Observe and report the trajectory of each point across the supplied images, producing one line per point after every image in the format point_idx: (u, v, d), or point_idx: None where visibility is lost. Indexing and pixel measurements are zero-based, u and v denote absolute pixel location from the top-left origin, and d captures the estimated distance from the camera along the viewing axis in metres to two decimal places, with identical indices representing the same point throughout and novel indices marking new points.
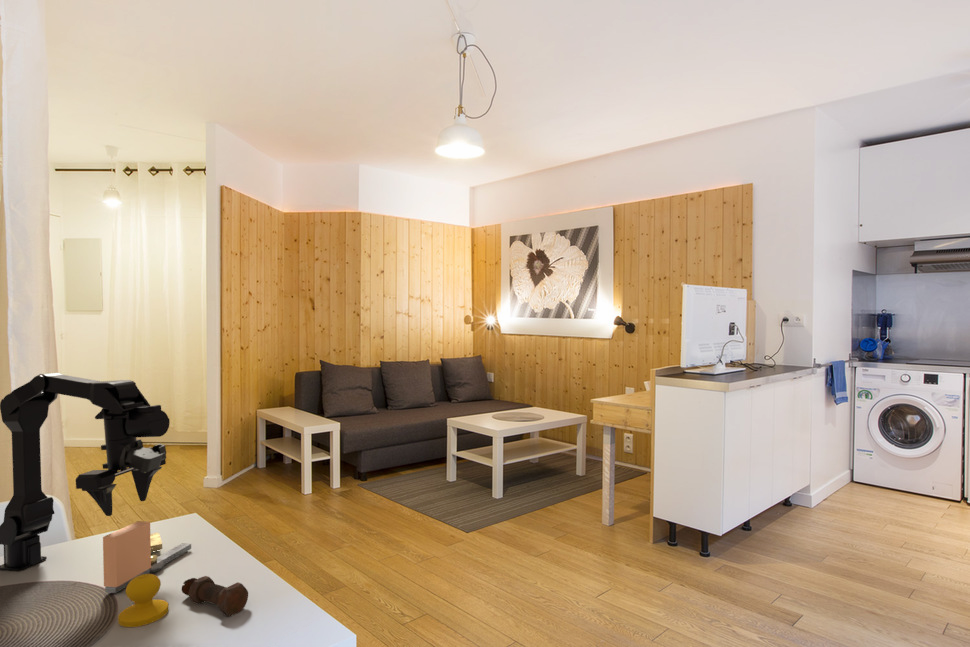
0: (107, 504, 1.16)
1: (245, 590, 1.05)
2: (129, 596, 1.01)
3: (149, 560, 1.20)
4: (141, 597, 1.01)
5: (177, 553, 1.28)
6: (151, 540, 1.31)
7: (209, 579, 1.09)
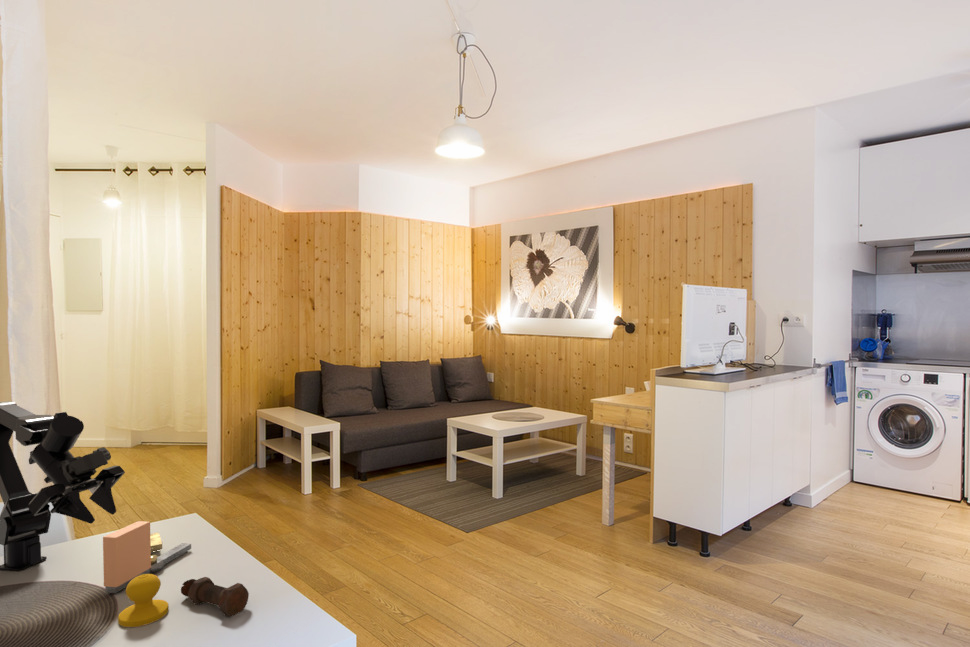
0: (83, 511, 1.15)
1: (245, 591, 1.05)
2: (129, 596, 1.01)
3: (149, 560, 1.20)
4: (141, 597, 1.01)
5: (177, 553, 1.28)
6: (151, 540, 1.31)
7: (209, 580, 1.09)
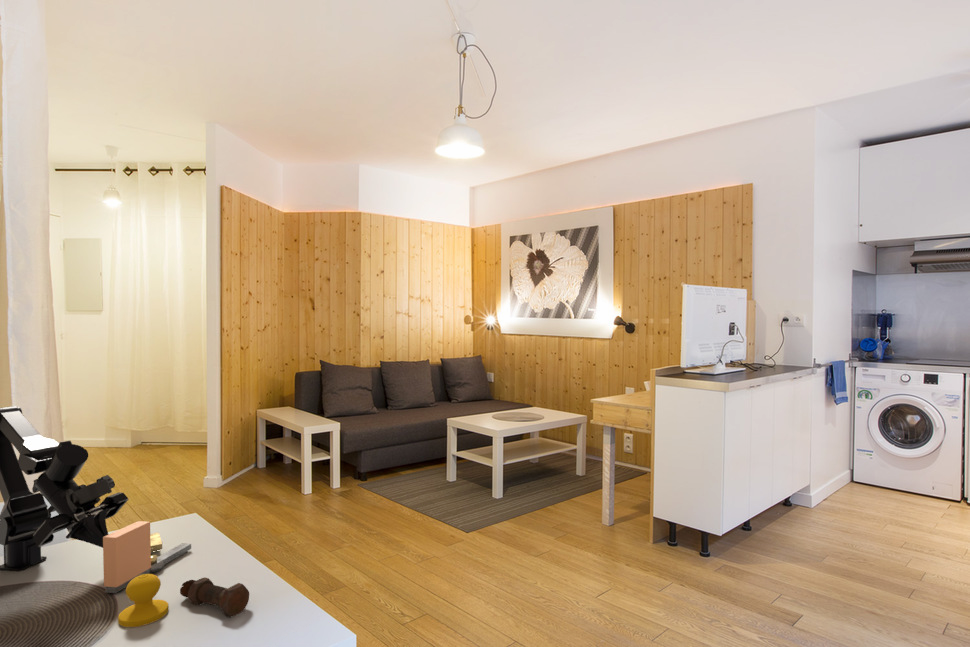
0: (97, 536, 1.17)
1: (246, 590, 1.05)
2: (129, 596, 1.01)
3: (149, 560, 1.20)
4: (141, 597, 1.01)
5: (177, 553, 1.28)
6: (151, 540, 1.31)
7: (208, 580, 1.09)
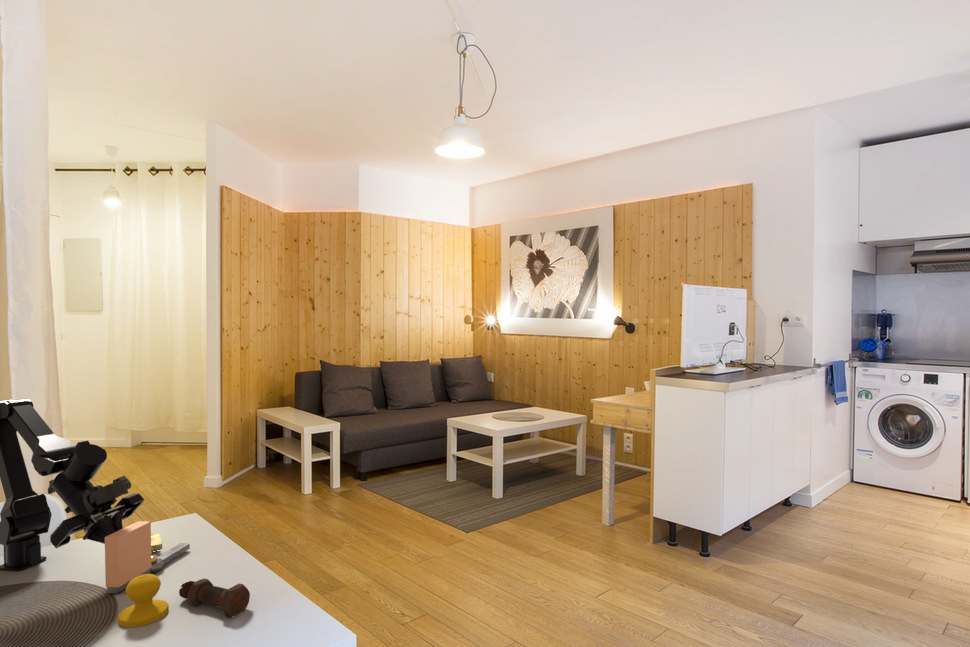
0: None
1: (247, 591, 1.05)
2: (129, 596, 1.01)
3: (149, 560, 1.20)
4: (141, 597, 1.01)
5: (176, 553, 1.29)
6: (151, 540, 1.31)
7: (208, 581, 1.09)
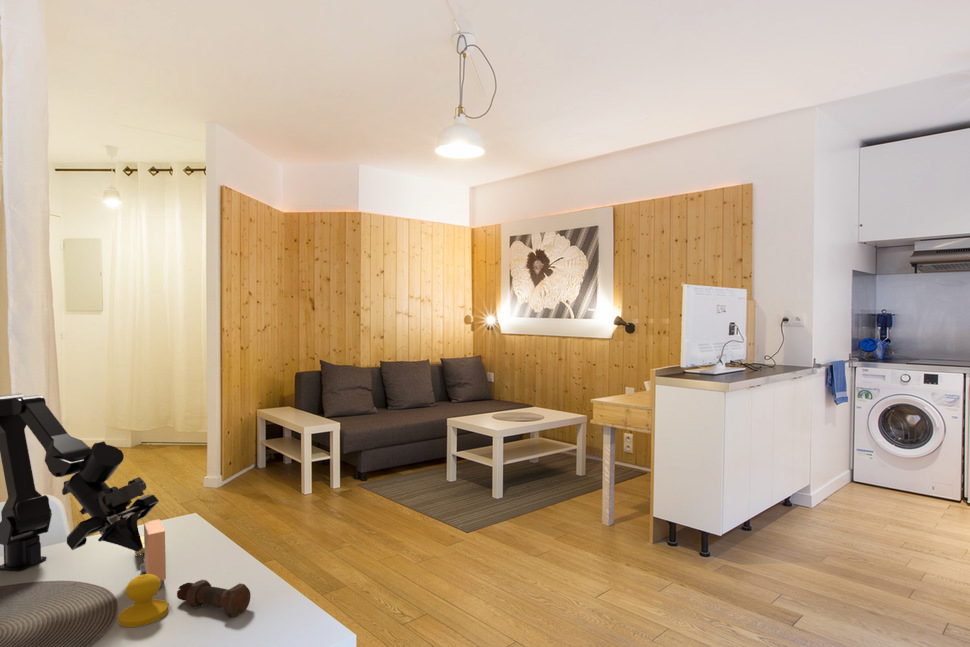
0: (130, 539, 1.16)
1: (248, 591, 1.05)
2: (129, 596, 1.01)
3: None
4: (141, 597, 1.01)
5: None
6: None
7: (207, 582, 1.08)
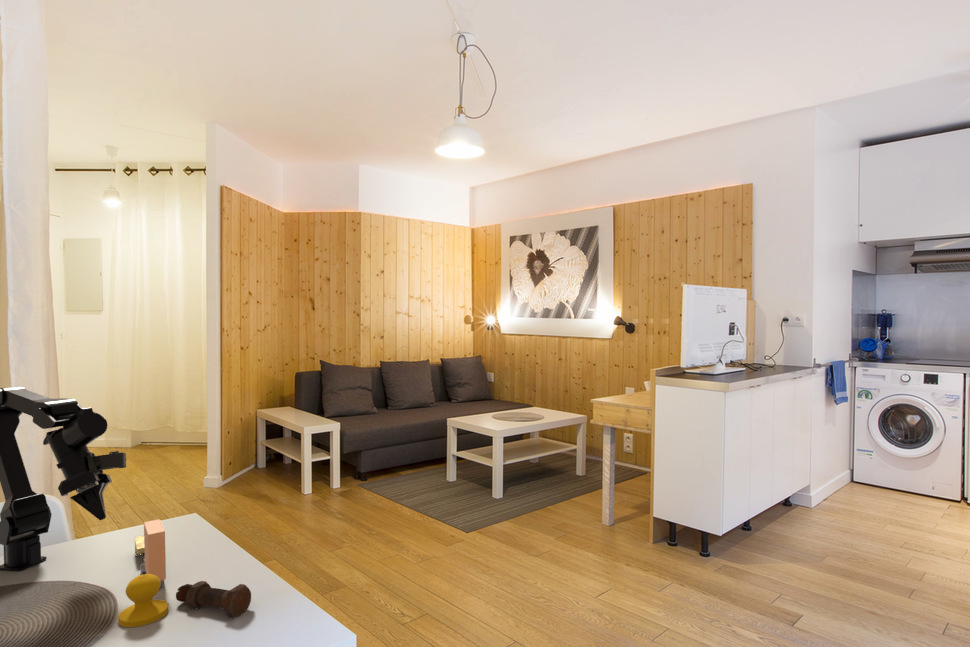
0: (101, 505, 1.18)
1: (249, 591, 1.05)
2: (129, 596, 1.01)
3: None
4: (141, 597, 1.01)
5: None
6: None
7: (206, 584, 1.08)
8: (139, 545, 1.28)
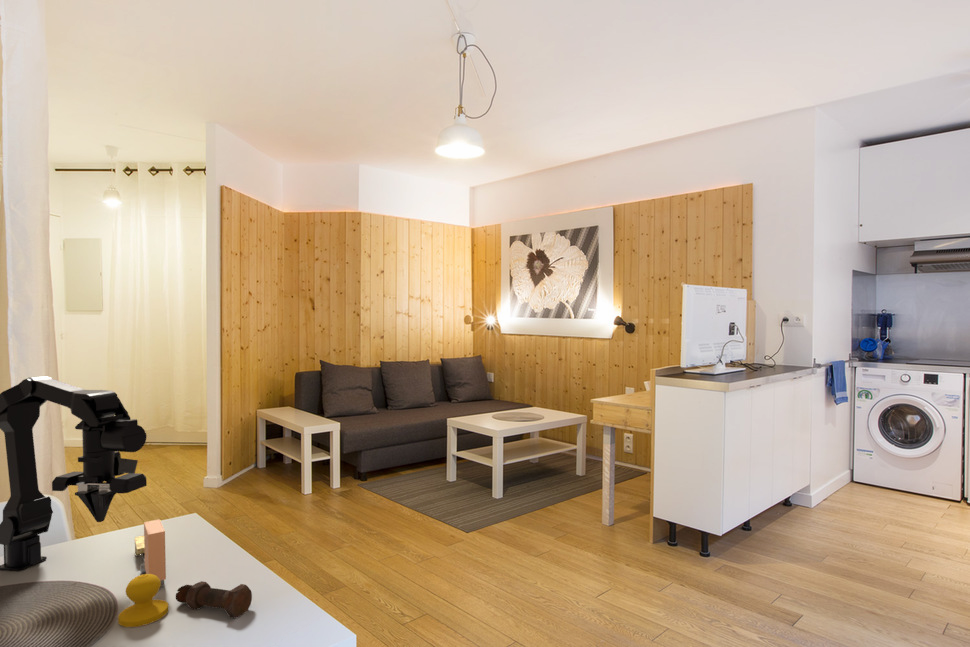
0: (108, 507, 1.21)
1: (249, 591, 1.05)
2: (129, 596, 1.01)
3: None
4: (141, 597, 1.01)
5: None
6: None
7: (206, 584, 1.07)
8: (139, 545, 1.28)
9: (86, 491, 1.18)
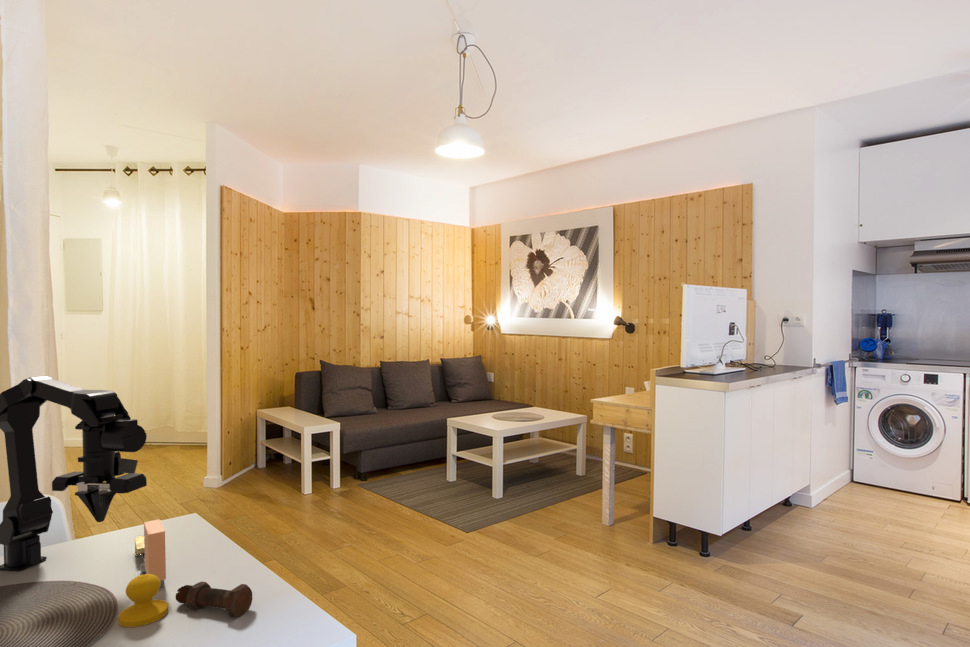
0: (108, 507, 1.21)
1: (250, 591, 1.05)
2: (129, 596, 1.01)
3: None
4: (141, 597, 1.01)
5: None
6: None
7: (206, 584, 1.07)
8: (139, 545, 1.28)
9: (86, 491, 1.18)
